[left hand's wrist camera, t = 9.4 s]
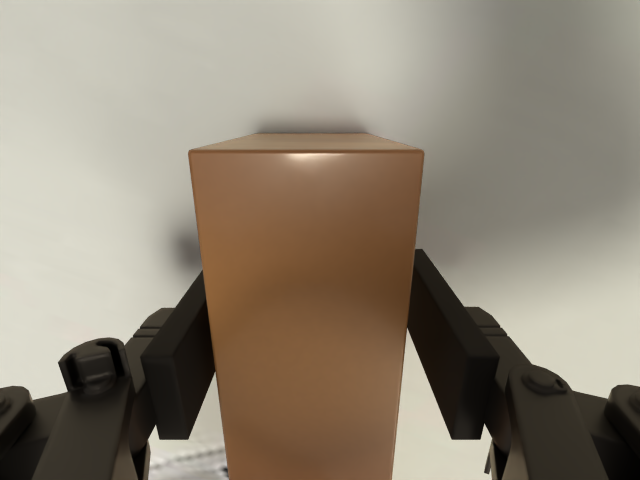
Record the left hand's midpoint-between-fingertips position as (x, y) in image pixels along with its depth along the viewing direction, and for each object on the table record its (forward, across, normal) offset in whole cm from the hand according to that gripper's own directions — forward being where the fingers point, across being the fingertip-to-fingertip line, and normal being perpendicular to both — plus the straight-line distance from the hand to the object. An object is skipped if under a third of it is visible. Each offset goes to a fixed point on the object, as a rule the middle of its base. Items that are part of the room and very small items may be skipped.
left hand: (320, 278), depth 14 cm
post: (+2, 0, -23) cm, 23 cm away
